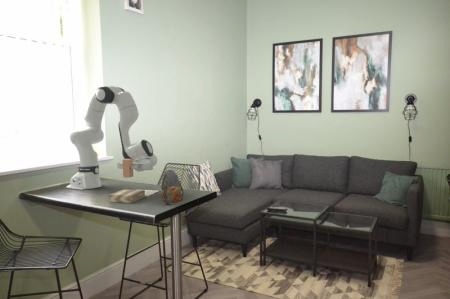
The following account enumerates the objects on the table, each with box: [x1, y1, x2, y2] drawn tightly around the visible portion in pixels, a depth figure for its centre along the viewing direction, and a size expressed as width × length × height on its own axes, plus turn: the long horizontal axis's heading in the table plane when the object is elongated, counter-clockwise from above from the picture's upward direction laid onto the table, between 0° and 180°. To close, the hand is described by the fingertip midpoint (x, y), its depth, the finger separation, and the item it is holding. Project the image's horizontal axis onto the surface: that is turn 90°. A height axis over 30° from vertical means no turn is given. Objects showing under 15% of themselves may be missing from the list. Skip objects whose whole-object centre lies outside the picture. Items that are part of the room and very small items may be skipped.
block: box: [121, 158, 134, 179], centre depth 207 cm, size 4×4×10 cm
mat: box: [144, 189, 160, 197], centre depth 222 cm, size 16×14×1 cm
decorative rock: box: [160, 169, 183, 192], centre depth 215 cm, size 16×7×15 cm, turn 150°
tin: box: [162, 185, 184, 205], centre depth 198 cm, size 15×3×8 cm, turn 149°
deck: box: [108, 189, 146, 204], centre depth 207 cm, size 14×14×4 cm
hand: (127, 167), depth 207 cm, fingers closed on block, 4 cm apart
